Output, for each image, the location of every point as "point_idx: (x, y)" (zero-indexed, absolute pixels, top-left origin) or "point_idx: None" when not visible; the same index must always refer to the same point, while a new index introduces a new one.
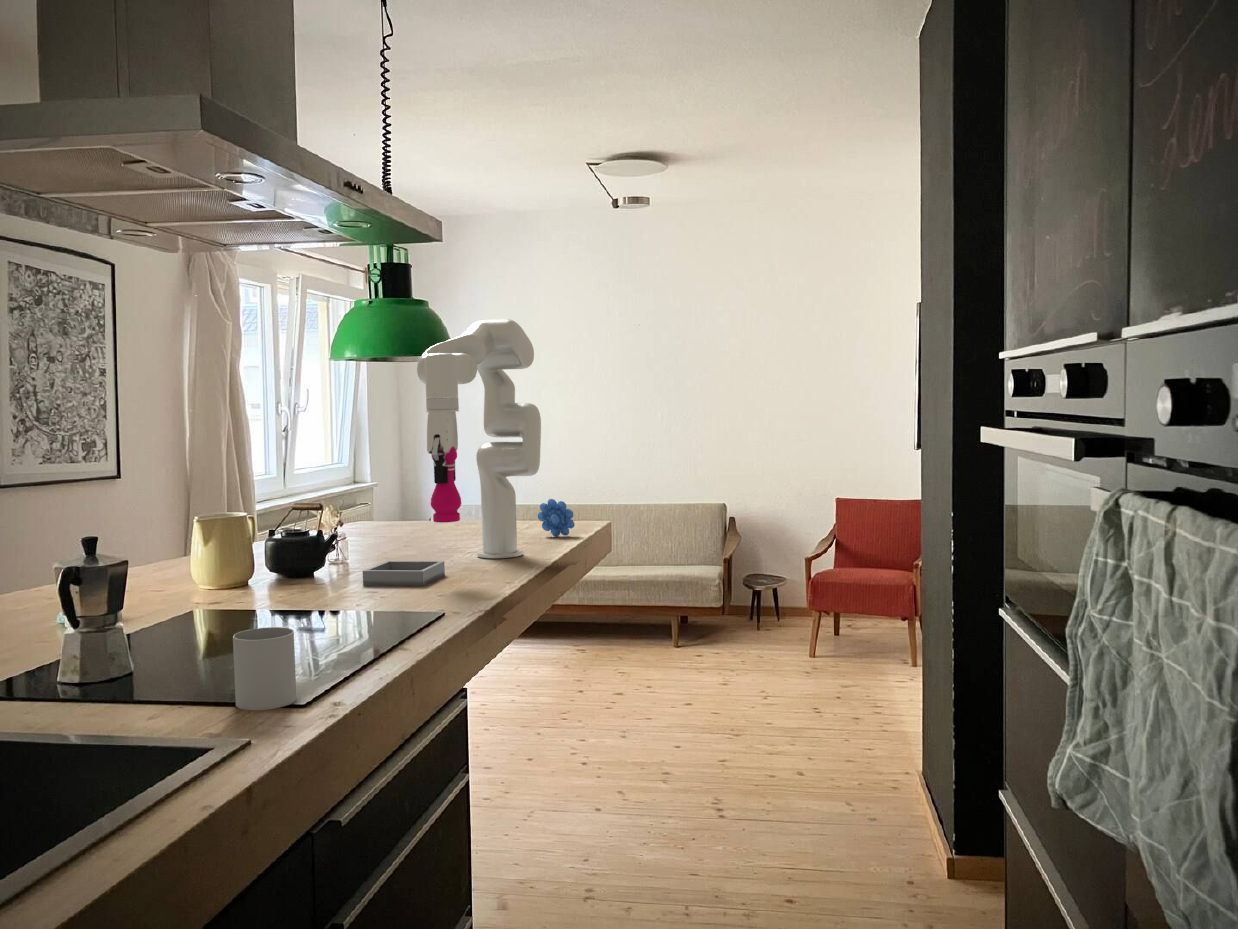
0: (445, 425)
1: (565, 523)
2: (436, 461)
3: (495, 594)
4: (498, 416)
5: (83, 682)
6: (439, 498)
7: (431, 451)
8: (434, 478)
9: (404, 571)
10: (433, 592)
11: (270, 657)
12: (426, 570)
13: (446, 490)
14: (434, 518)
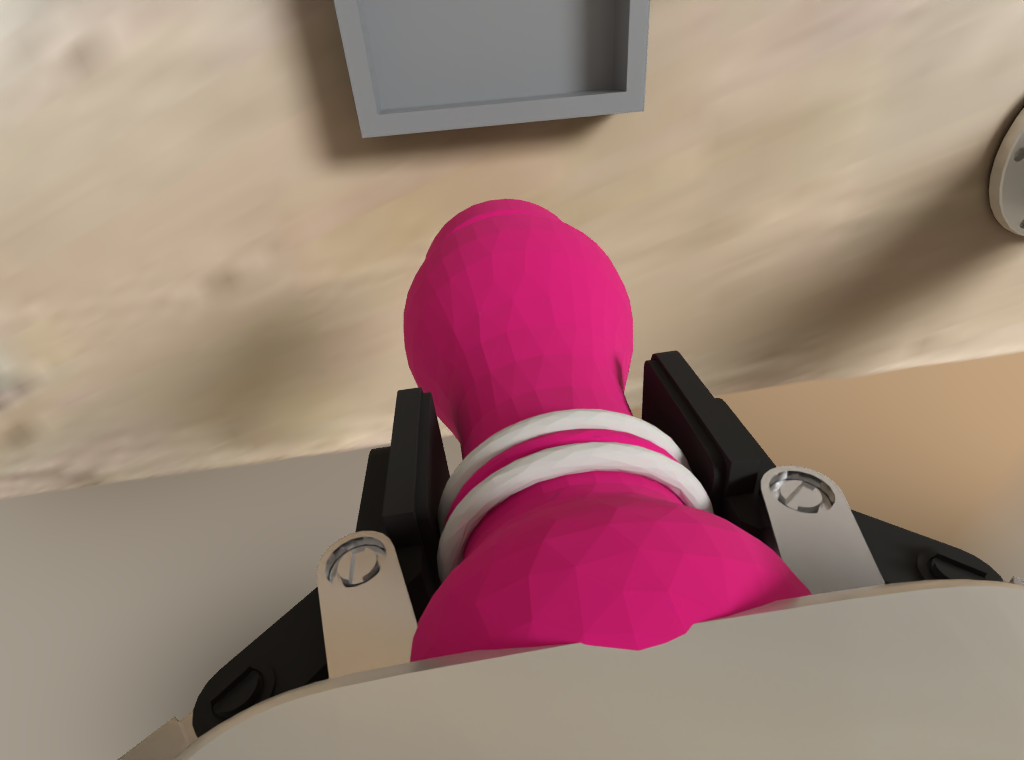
0: None
1: None
2: (282, 653)
3: (308, 425)
4: None
5: None
6: (408, 352)
7: (490, 686)
8: (394, 416)
9: (340, 32)
10: (266, 230)
11: None
12: (406, 133)
13: (446, 425)
14: (439, 236)
